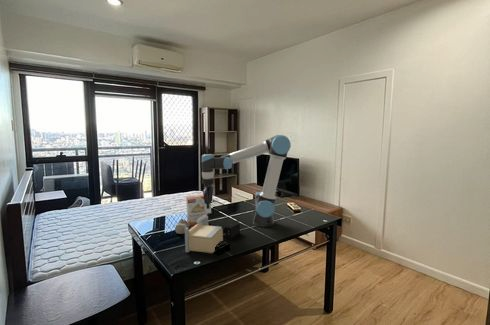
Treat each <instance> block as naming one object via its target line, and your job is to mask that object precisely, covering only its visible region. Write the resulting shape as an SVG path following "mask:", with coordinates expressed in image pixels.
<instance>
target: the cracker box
mask: <svg viewBox="0 0 490 325" xmlns="http://www.w3.org/2000/svg"><path fill="white" fill-rule="evenodd" d="M185 196H186V195H185ZM185 199H186V201H185V202H186V221H187V223H188V224H192V226H191V227H194V226H195V225H196V224H198V223H196V220H197V219H199V218H200V217H202V216H203V215H204V214H207V215H208V213H207V211H206V204H205V202H204V195H203V194H197V195H196V194H195V195H188V196H186V197H185Z"/></svg>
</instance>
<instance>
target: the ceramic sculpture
mask: <svg viewBox="0 0 490 325" xmlns="http://www.w3.org/2000/svg"><path fill="white" fill-rule="evenodd" d="M192 227H193V226H192V224H188V223H187V219H183V218H181V219H180V220H179V221H178V222H177V224H175V227H174V231H175V232H176V234H179V235H184V234H185V228H189V229H191V228H192Z"/></svg>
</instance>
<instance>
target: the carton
mask: <svg viewBox="0 0 490 325" xmlns="http://www.w3.org/2000/svg"><path fill="white" fill-rule="evenodd" d="M201 222H202V225H207V226H209V216H208V215H207V217H206V218H205V219H203V220H202V221H201ZM189 230H190V228H185V233H184V244H185V248H184V249H185V250H184V251H185V253H189V252H190V251H191V252H198V253H200V252H201V253H205V254H207V253H208V254H214V253H215V252H216V250H215V247H216V245H217V244H218V243H219V242H220V241H223V242H224V237H223V236H224V235H223V234H224V228H221V229H220V230H219V231H218V232H217V233H216V234H215V235H214V236H213V237H212V239H209V238H200V237H190V236H189Z"/></svg>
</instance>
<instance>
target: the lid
mask: <svg viewBox="0 0 490 325" xmlns="http://www.w3.org/2000/svg"><path fill="white" fill-rule="evenodd" d="M220 229H223V227H222V226H219V225H216V226H215V225H208V226H207V225H202V222H200V223H198V224H196V225H195V226H191V227H190V228H189V236H190V237H200V238H209V239H211V238H212V237H213V236H214V235H215V234H216V233H217V232H218V231H219V230H220Z"/></svg>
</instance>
